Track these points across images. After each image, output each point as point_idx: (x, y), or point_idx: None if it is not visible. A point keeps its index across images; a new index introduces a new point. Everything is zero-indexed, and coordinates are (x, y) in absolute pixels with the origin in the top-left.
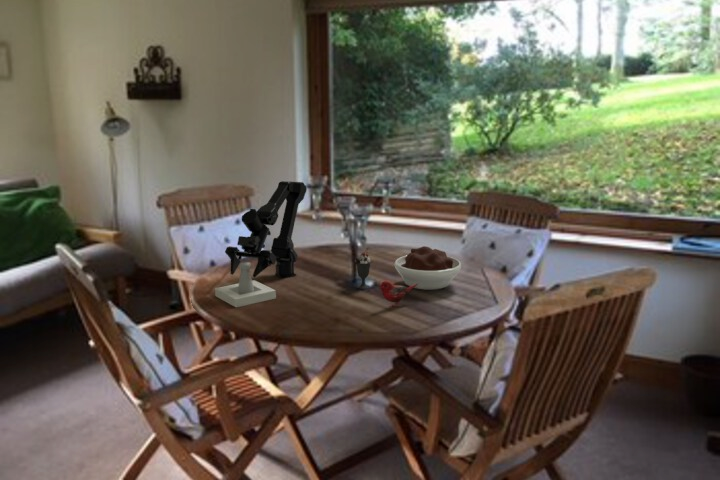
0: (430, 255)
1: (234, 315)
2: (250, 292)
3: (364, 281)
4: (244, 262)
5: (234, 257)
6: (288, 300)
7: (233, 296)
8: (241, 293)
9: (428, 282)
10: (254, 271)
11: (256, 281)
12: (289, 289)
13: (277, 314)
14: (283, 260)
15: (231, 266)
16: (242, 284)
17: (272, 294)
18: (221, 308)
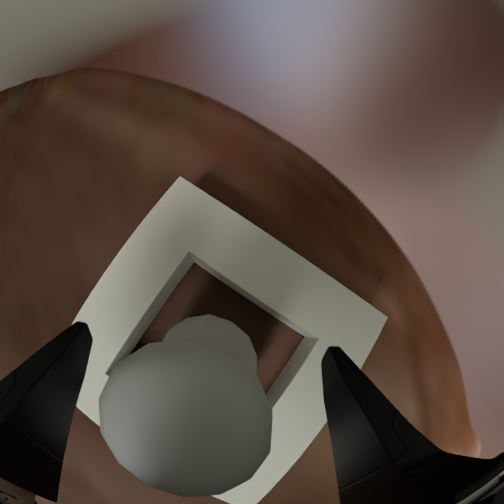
0: None
1: (156, 124)
2: (163, 339)
3: None
4: (184, 443)
5: (411, 487)
6: (20, 348)
7: (211, 212)
8: (211, 315)
9: None
10: (60, 349)
11: (224, 499)
12: (85, 485)
13: (23, 186)
14: None
15: (373, 393)
16: (203, 325)
17: None
18: (244, 171)
